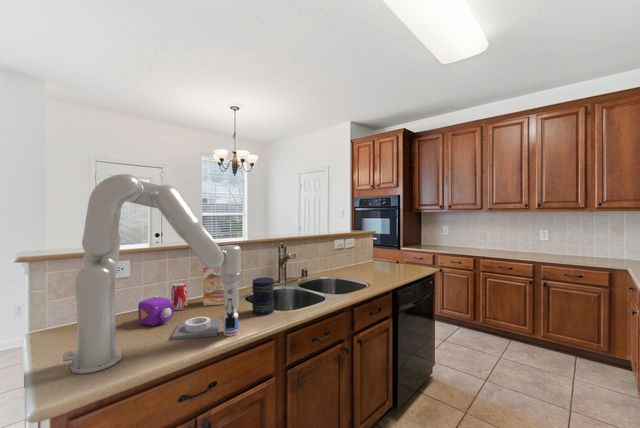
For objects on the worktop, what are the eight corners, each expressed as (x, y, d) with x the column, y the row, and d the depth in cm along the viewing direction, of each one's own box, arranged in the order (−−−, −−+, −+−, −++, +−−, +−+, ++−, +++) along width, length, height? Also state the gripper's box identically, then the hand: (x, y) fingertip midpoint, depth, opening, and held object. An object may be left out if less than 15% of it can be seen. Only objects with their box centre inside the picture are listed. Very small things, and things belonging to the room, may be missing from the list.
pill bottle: (241, 333, 112) (241, 307, 112) (228, 337, 108) (228, 311, 108) (233, 329, 116) (233, 304, 115) (220, 333, 112) (220, 308, 112)
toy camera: (162, 328, 116) (162, 303, 116) (133, 325, 119) (133, 301, 119) (180, 318, 127) (180, 296, 127) (153, 316, 130) (153, 294, 130)
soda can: (183, 311, 136) (183, 285, 136) (168, 311, 136) (168, 285, 136) (190, 306, 143) (190, 282, 143) (176, 306, 143) (176, 282, 143)
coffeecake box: (203, 305, 144) (203, 266, 144) (205, 301, 151) (205, 264, 151) (234, 303, 147) (234, 265, 147) (235, 299, 154) (235, 263, 154)
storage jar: (277, 312, 134) (277, 280, 134) (257, 317, 128) (257, 283, 128) (268, 307, 142) (268, 276, 142) (249, 310, 137) (249, 279, 136)
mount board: (171, 340, 106) (170, 330, 106) (180, 325, 120) (180, 316, 120) (217, 335, 110) (217, 325, 110) (220, 321, 123) (220, 313, 123)
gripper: (240, 282, 104) (240, 332, 104) (241, 272, 121) (241, 315, 121) (218, 283, 102) (218, 334, 103) (222, 273, 119) (222, 317, 119)
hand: (231, 324), depth 112 cm, fingers closed on pill bottle, 5 cm apart
